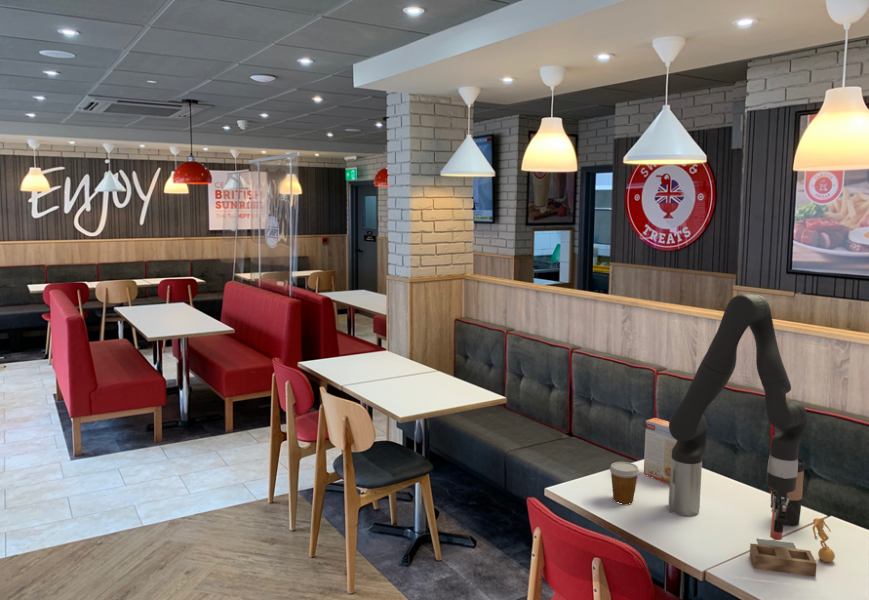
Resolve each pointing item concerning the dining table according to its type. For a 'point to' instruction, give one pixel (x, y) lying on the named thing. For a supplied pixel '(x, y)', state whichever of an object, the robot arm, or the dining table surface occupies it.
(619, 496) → the disposable coffee cup
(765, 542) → the mat
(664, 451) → the cracker box
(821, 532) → the figurine
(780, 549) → the hole block
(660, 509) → the dining table surface
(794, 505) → the travel mug
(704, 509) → the dining table surface
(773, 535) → the peg
